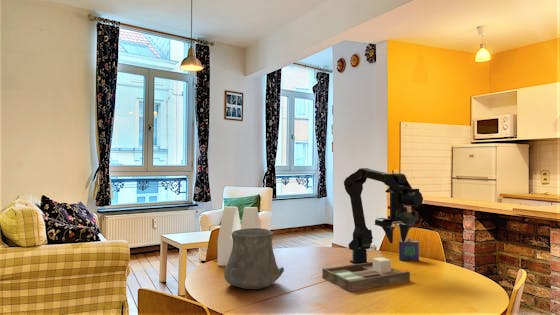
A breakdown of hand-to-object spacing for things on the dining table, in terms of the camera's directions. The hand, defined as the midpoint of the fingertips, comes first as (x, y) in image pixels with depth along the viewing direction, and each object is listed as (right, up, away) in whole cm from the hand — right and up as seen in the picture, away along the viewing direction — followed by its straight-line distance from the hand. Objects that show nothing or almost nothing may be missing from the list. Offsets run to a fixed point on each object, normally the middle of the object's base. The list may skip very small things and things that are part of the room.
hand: (397, 242), depth 150 cm
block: (-7, -10, -4) cm, 13 cm away
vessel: (-57, -13, -15) cm, 61 cm away
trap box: (-15, -13, -7) cm, 21 cm away
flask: (+13, -14, +22) cm, 29 cm away
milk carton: (-66, -14, +21) cm, 71 cm away
